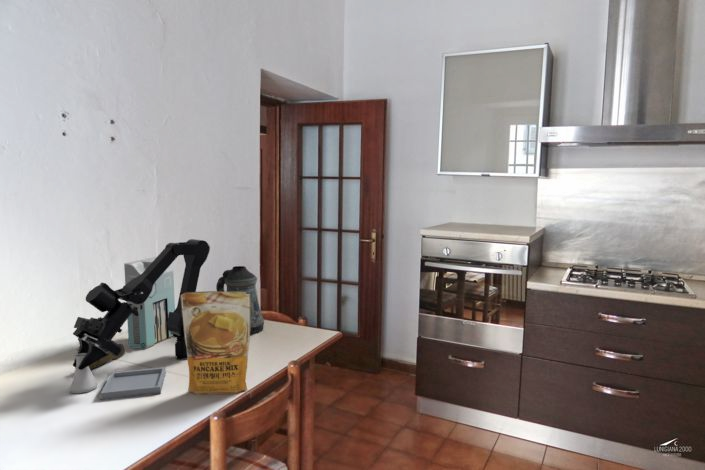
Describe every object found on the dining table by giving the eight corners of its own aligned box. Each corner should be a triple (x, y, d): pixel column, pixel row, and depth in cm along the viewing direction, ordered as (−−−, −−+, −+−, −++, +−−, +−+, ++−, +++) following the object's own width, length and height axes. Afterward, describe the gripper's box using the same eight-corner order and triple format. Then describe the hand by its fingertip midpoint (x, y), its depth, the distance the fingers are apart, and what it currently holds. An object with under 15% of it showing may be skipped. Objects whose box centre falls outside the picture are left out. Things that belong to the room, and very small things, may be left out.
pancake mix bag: (187, 385, 145) (183, 290, 142) (254, 384, 145) (251, 289, 142) (180, 395, 138) (175, 295, 135) (250, 394, 139) (247, 294, 136)
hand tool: (84, 376, 153) (83, 361, 152) (74, 374, 154) (73, 360, 153) (131, 355, 170) (130, 342, 170) (122, 354, 172) (121, 341, 171)
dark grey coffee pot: (259, 336, 189) (258, 271, 186) (208, 336, 189) (205, 271, 187) (267, 324, 206) (266, 263, 203) (220, 324, 206) (218, 263, 203)
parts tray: (165, 373, 154) (165, 367, 153) (160, 393, 139) (160, 386, 139) (112, 379, 150) (111, 372, 150) (101, 400, 135) (100, 393, 135)
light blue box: (146, 349, 176) (142, 264, 173) (128, 347, 178) (123, 263, 175) (176, 335, 191) (173, 257, 188) (159, 333, 194) (155, 256, 190)
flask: (76, 384, 146) (73, 350, 145) (101, 383, 147) (99, 350, 146) (64, 394, 139) (61, 359, 138) (91, 393, 140) (88, 358, 138)
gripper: (77, 300, 149) (39, 346, 142) (108, 310, 137) (68, 361, 130) (106, 320, 156) (70, 365, 149) (137, 331, 144) (100, 381, 137)
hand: (76, 367), depth 141 cm, fingers closed on flask, 3 cm apart
